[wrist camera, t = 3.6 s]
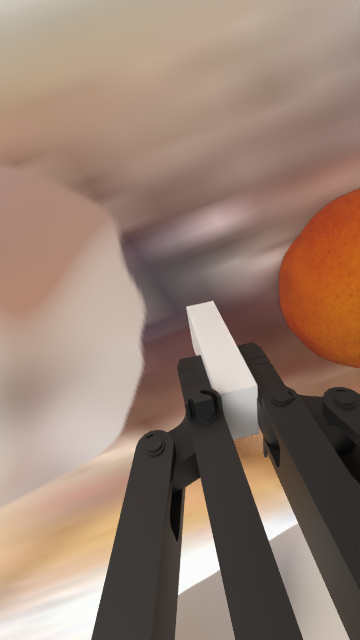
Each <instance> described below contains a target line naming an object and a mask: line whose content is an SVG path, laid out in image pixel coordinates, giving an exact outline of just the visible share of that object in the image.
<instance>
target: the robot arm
mask: <svg viewBox="0 0 360 640" xmlns="http://www.w3.org/2000/svg"><path fill="white" fill-rule="evenodd" d="M186 309H187V314H188V320H189V326H190V331H191V337H192V342H193V347H194V351H195V354H196V356H193V357H189V358H184V359H180V361H179V364H178V367H177V369H178V374H179V379H180V383H181V388H182V393H183V397H184V402H185V408H186V415H185V418H184V420H183V421H182V423H181V424H180V425H179V426H177V427H176V428H174V429H173V430H171V431H169V432H165V431H162V430H154V431H150V432H148V433H147V434H145V435H144V436H143V437H142V438H141V439H140V440H139V442H138V444H137V446H136V450H135V454H134V459H133V463H132V467H131V471H130V476H129V480H128V484H127V489H126V493H125V497H124V502H123V506H122V510H121V514H120V519H119V523H118V527H117V532H116V536H115V540H114V544H113V549H112V553H111V557H110V562H109V566H108V570H107V574H106V579H105V583H104V587H103V592H102V596H101V600H100V604H99V609H98V613H97V617H96V622H95V626H94V630H93V635H92V639H91V640H175V627H176V613H177V599H178V585H179V571H180V556H181V542H182V528H183V514H184V500H185V487H186V486H188V485H189V484H191V483H192V482H194V481H196V480H197V479H199V478H200V477H201V482H202V487H203V491H204V496H205V501H206V505H207V510H208V515H209V519H210V524H211V529H212V533H213V538H214V543H215V547H216V552H217V556H218V561H219V566H220V570H221V575H222V579H223V584H224V589H225V594H226V598H227V603H228V608H229V612H230V617H231V622H232V626H233V631H234V635H235V640H303V638H302V635H301V632H300V629H299V626H298V624H297V621H296V618H295V615H294V612H293V609H292V606H291V603H290V601H289V598H288V595H287V592H286V589H285V586H284V584H283V581H282V578H281V575H280V572H279V570H278V566H277V564H276V561H275V558H274V555H273V552H272V549H271V547H270V544H269V541H268V538H267V535H266V532H265V530H264V527H263V524H262V521H261V518H260V515H259V512H258V510H257V507H256V504H255V501H254V498H253V495H252V493H251V490H250V487H249V484H248V481H247V478H246V475H245V473H244V470H243V467H242V464H241V461H240V458H239V456H238V453H237V450H236V447H235V444H234V441H233V439H237V438H242V437H246V436H250V435H254V434H258V433H259V427H260V429H261V431H262V434H263V452H264V457H267V453H268V455H269V458H270V460H271V462H272V464H273V467H274V469H275V471H276V473H277V476H278V478H279V480H280V482H281V485H282V487H283V489H284V492H285V494H286V496H287V498H288V501H289V503H290V505H291V507H292V510H293V512H294V514H295V516H296V519H297V521H298V523H299V526H300V528H301V530H302V532H303V534H304V537H305V539H306V541H307V544H308V546H309V548H310V550H311V553H312V555H313V557H314V560H315V562H316V564H317V566H318V568H319V571H320V573H321V575H322V578H323V580H324V582H325V584H326V587H327V589H328V591H329V593H330V596H331V598H332V600H333V603H334V605H335V607H336V609H337V612H338V614H339V616H340V618H341V621H342V623H343V625H344V628H345V630H346V632H347V634H348V636H349V639H350V640H360V394H358V393H356V392H355V391H353V390H351V389H347V388H344V387H334V388H330V389H328V390H327V391H326V392H325V393H324V396H323V397H316V396H303V395H299V394H297V393H296V392H295V391H294V390H292V389H290V388H288V387H286V386H285V384H284V383H283V381H282V380H281V378H280V377H279V375H278V373H277V372H276V370H275V369H274V367H273V366H272V364H271V363H270V361H269V359H268V358H267V357H266V355H265V353H264V352H263V350H262V349H261V348H260V347H259V346H257V345H256V344H254V343H253V342H252V343H248V344H243V345H239V346H236V344H235V342H234V340H233V338H232V336H231V334H230V332H229V330H228V328H227V327H226V325H225V323H224V321H223V319H222V317H221V315H220V313H219V311H218V310H217V308H216V306H215V304H214V302H213V301H210V302H206V303H201V304H197V305H192V306H188V307H186Z"/></svg>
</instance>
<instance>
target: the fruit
mask: <svg viewBox="0 0 360 640" xmlns="http://www.w3.org/2000/svg"><path fill="white" fill-rule="evenodd" d="M279 298H280V306H281V309H282V312H283V314H284V317H285V320H286V322H287V324H288V326H289V328H290V329H291V330H292V331H293V333H294V334H295V335H296V336H297V337H298V338H299V339H300V340H301V341H302V342H303V343H304V344H305V345H306V346H307V347H308V348H309V349H310V350H312V351H313V352H314V353H316V354H317V355H319V356H320V357H322V358H325V359H327V360H330V361H332V362H334V363H337V364H341V365H345V366H352V367H355V368H360V188H359V189H357V190H354V191H352V192H350V193H348V194H346V195H343V196H341V197H339V198H337V199H335V200H333V201H332V202H330V203H329V204H327V205H326V206H325V207H324V208H323V209H321V210H320V211H319V212H318V213H317V214H316V215H315V216H314V217H313V218H312V219H311V220H310V221H309V223H308V224H307V225H306V227H305V228H304V229H303V231H302V232H301V233H300V235H299V236H298V237H297V238H296V240H295V241H294V242H293V243H292V245H291V246H290V248H289V249H288V251H287V252H286V254H285V256H284V258H283V261H282V264H281V268H280V273H279Z"/></svg>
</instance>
